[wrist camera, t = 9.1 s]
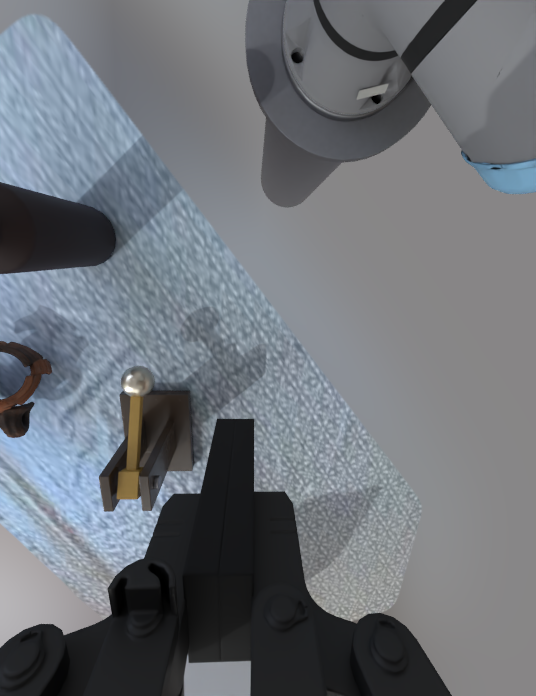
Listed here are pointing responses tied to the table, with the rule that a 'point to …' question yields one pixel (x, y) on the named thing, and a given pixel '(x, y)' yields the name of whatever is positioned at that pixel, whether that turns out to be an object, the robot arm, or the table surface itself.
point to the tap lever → (134, 429)
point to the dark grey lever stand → (153, 445)
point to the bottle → (50, 232)
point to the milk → (217, 678)
